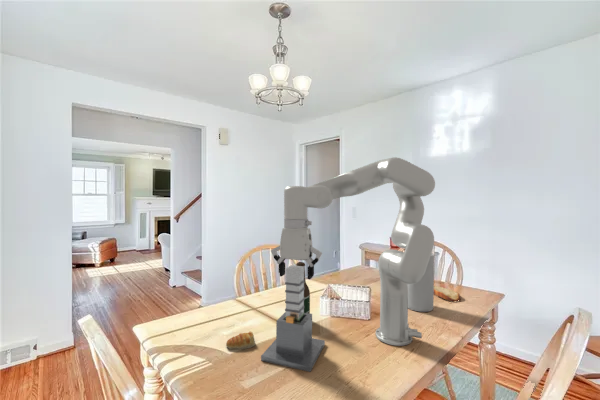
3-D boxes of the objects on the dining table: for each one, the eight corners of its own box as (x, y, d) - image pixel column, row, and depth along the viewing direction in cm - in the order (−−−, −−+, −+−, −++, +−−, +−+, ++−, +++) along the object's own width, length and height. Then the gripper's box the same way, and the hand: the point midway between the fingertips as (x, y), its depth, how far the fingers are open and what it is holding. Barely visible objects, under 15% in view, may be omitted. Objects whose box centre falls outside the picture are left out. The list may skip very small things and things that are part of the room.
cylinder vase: (427, 302, 137) (428, 251, 136) (437, 313, 124) (438, 256, 124) (401, 301, 138) (401, 250, 138) (408, 311, 126) (409, 255, 125)
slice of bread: (427, 287, 161) (427, 281, 161) (463, 294, 150) (464, 287, 150) (419, 296, 147) (419, 289, 147) (458, 304, 136) (458, 296, 136)
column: (304, 320, 94) (304, 266, 93) (299, 327, 89) (299, 270, 89) (290, 318, 95) (291, 265, 95) (284, 324, 91) (285, 268, 90)
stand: (324, 344, 97) (325, 306, 97) (310, 371, 82) (310, 327, 82) (281, 336, 102) (282, 300, 102) (261, 360, 87) (261, 318, 87)
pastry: (228, 353, 92) (228, 341, 92) (224, 343, 98) (224, 332, 98) (256, 347, 96) (256, 336, 96) (251, 338, 102) (251, 327, 102)
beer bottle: (308, 326, 110) (308, 265, 110) (288, 324, 112) (289, 264, 112) (311, 318, 118) (311, 261, 118) (293, 316, 120) (293, 260, 119)
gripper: (324, 223, 92) (324, 276, 93) (276, 222, 98) (276, 271, 99) (318, 226, 85) (318, 282, 86) (266, 224, 91) (266, 277, 91)
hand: (296, 276), depth 92 cm, fingers open, 9 cm apart
